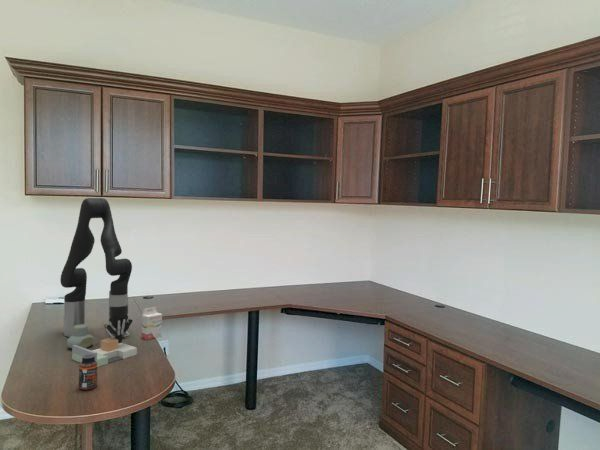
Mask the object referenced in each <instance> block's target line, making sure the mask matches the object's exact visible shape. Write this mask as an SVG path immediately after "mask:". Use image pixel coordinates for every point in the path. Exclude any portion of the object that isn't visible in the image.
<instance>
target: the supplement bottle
mask: <svg viewBox="0 0 600 450" xmlns="http://www.w3.org/2000/svg"><path fill="white" fill-rule="evenodd" d="M94 359H95V356H94V355H84V356H83V357H82V362H81V363H80V362H79V365H78V389H80V390H82V391H87V390H93V389H94V388H96V387H97V385H98V367H97V361H95V360H94Z"/></svg>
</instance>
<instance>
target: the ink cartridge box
mask: <svg viewBox="0 0 600 450" xmlns="http://www.w3.org/2000/svg"><path fill="white" fill-rule="evenodd" d="M162 328H163V314H162V313H160V312H158V306H154V307H153V306H152V307H145V308H143V309H142V315H141V339H143V340H146V341H150V340H153V338H154V337H155V338H154V339H158V338H162V336H163V335H162V333H163V332H162V331H163V329H162Z"/></svg>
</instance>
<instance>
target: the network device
mask: <svg viewBox="0 0 600 450" xmlns="http://www.w3.org/2000/svg"><path fill="white" fill-rule="evenodd" d="M109 319H110V290H108V320H109ZM111 325H112V324H111ZM112 328H113V326H112ZM105 330H106V332H107V334H108V336H109V338H114V339H115V335H114V334H111V333H110V332H109V331H108V330H107V329H106V328H105ZM126 336H127V337H129V336H130V333H129V331H128V330H127V331H126V332H124V333H123V338H125V337H126Z"/></svg>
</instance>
